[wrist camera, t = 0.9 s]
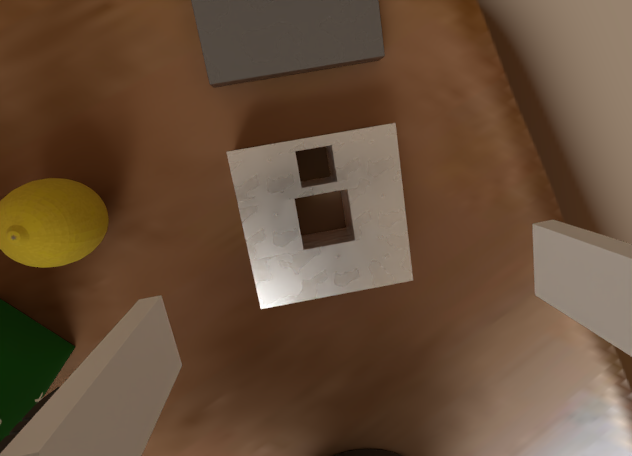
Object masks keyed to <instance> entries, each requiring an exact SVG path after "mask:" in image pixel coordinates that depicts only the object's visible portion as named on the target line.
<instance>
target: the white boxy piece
mask: <svg viewBox="0 0 632 456" xmlns="http://www.w3.org/2000/svg"><path fill="white" fill-rule="evenodd" d="M324 146H326V152H327V158H328V164H329V171H330V176H328V177H323V178H317V179H311V180H306V181H300V176H299V170H298V165H297V159H296V153H295V151H300V150H306V149H312V148H318V147H324ZM227 157H228V161H229V166H230V170H231V175H232V180H233V184H234V189H235V193H236V198H237V202H238V207H239V212H240V216H241V221H242V225H243V230H244V234H245V239H246V244H247V248H248V253H249V257H250V262H251V267H252V271H253V276H254V280H255V285H256V289H257V294H258V299H259V303H260V308H261V309H265V308H270V307H275V306H281V305H286V304H291V303H297V302H302V301H307V300H312V299H318V298H323V297H328V296H334V295H339V294H344V293H349V292H355V291H360V290H365V289H371V288H376V287H381V286H387V285H392V284H397V283H402V282H408V281H413V274H412V265H411V256H410V248H409V239H408V230H407V221H406V212H405V203H404V194H403V185H402V176H401V168H400V159H399V150H398V141H397V132H396V123H391V124H385V125H379V126H373V127H367V128H361V129H355V130H349V131H344V132H338V133H332V134H326V135H320V136H314V137H309V138H303V139H297V140H291V141H285V142H279V143H274V144H268V145H262V146H256V147H250V148H245V149H239V150H233V151H228V152H227ZM334 191H341V197H342V204H343V211H344V217H345V224H346V228H341V229H335V230H330V231H324V232H319V233H313V234H308V235H302V236H301V232H300V226H299V221H298V215H297V210H296V204H295V198H300V197H306V196H311V195H317V194H323V193H328V192H334Z"/></svg>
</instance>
